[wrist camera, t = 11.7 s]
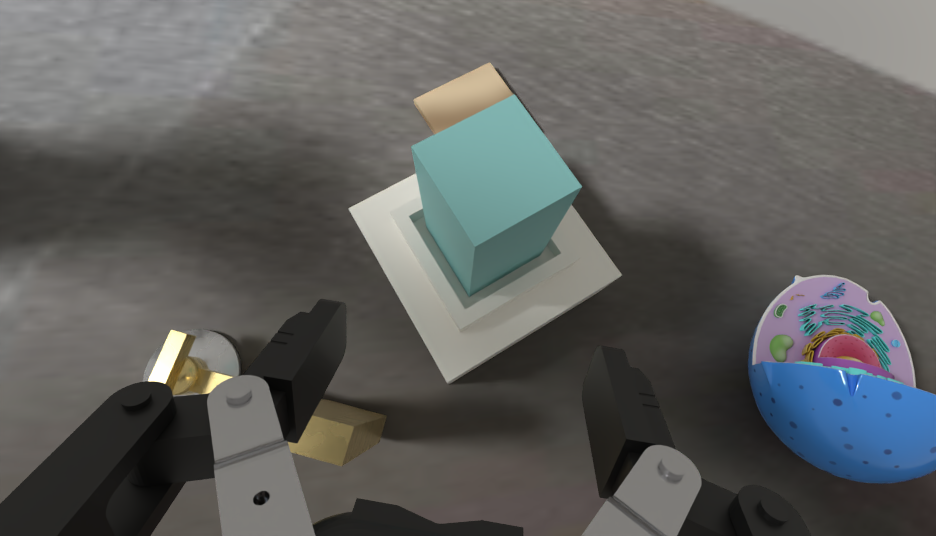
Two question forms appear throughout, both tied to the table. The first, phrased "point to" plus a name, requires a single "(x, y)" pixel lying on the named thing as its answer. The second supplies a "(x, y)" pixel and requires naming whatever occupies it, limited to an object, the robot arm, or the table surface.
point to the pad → (462, 98)
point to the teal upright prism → (492, 192)
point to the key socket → (207, 354)
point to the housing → (491, 309)
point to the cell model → (841, 383)
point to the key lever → (325, 437)
